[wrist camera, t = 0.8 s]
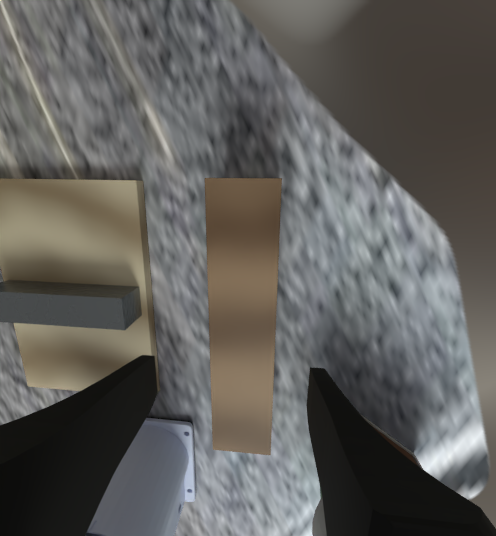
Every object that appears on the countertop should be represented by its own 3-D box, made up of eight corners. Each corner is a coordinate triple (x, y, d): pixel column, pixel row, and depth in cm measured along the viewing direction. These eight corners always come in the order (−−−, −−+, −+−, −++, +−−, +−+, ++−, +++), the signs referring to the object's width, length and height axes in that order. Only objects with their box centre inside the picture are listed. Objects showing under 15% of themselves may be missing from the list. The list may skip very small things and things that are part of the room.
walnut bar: (271, 397, 24) (270, 455, 18) (226, 393, 24) (213, 449, 19) (280, 183, 19) (281, 178, 14) (224, 182, 19) (204, 177, 14)
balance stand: (159, 389, 24) (141, 421, 21) (37, 379, 26) (1, 407, 22) (143, 181, 20) (115, 178, 16) (-7, 178, 21) (-61, 176, 17)
